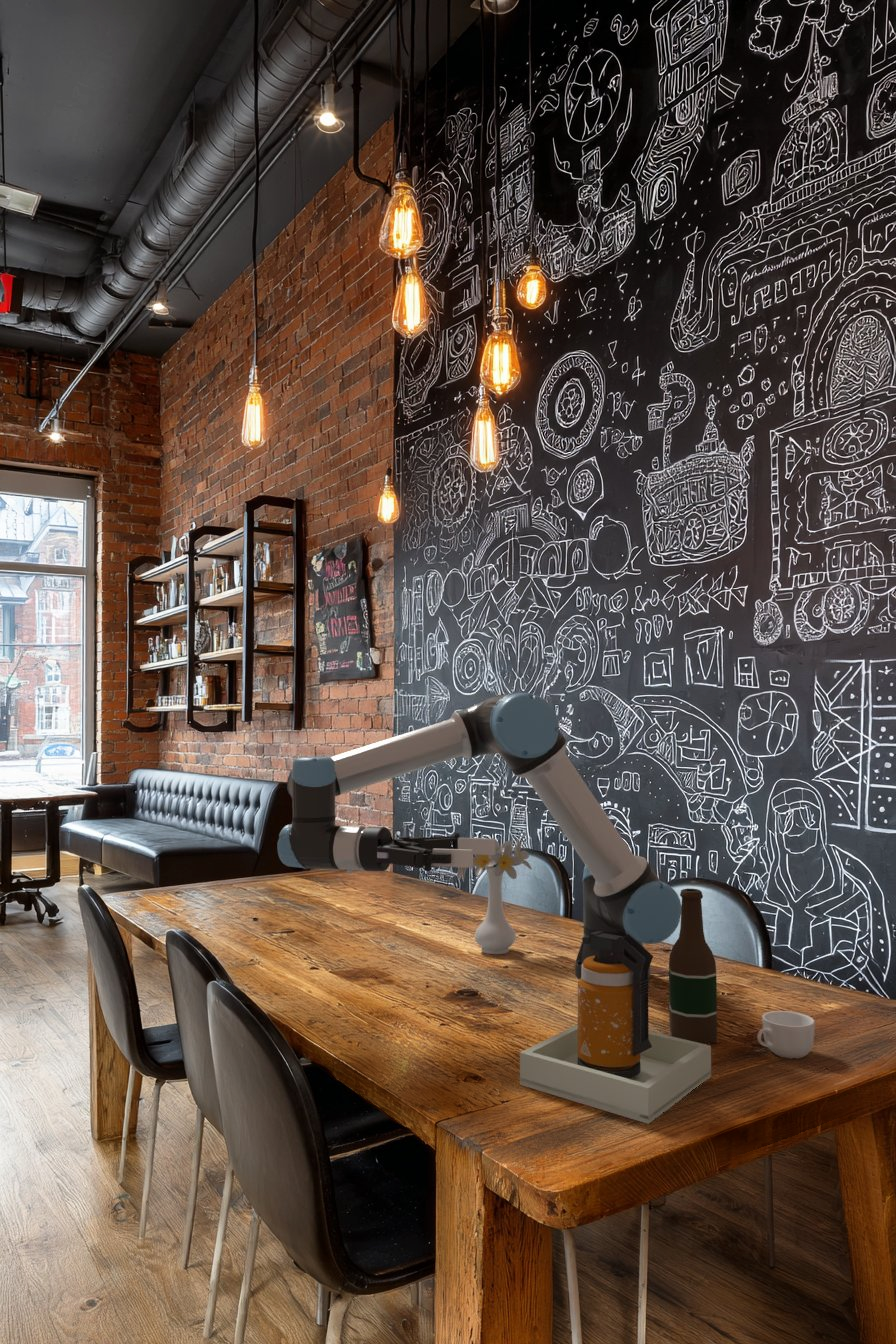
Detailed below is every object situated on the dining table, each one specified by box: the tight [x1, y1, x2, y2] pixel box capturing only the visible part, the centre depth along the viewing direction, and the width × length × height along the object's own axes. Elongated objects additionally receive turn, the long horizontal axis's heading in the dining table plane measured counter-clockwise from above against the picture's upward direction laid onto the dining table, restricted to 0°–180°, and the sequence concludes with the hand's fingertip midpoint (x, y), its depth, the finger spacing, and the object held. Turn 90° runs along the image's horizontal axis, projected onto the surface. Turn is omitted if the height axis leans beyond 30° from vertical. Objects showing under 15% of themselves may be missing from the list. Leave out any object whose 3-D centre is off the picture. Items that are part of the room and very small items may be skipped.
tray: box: [519, 1023, 712, 1125], centre depth 132 cm, size 20×20×4 cm
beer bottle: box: [668, 888, 718, 1045], centre depth 150 cm, size 8×8×24 cm
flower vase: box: [456, 837, 533, 956], centre depth 205 cm, size 13×18×25 cm
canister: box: [577, 931, 654, 1079], centre depth 132 cm, size 9×11×20 cm
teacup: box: [756, 1010, 816, 1059], centre depth 142 cm, size 10×8×5 cm
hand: (484, 852), depth 151 cm, fingers open, 13 cm apart
